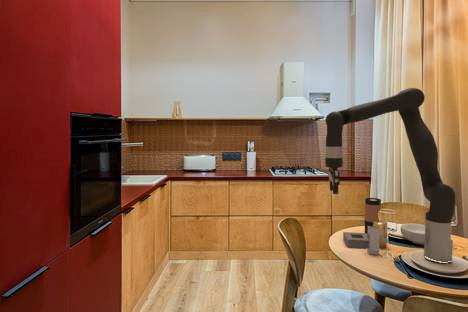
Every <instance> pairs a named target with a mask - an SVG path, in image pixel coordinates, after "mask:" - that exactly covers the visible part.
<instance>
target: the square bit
mask: <svg viewBox="0 0 468 312" xmlns="http://www.w3.org/2000/svg"><path fill="white" fill-rule="evenodd" d="M379 236H380V229H379V228H378V227H377V226H368V236H367V249H366V250H367V251H366V252H367V253H368V255H369V256H379V255H380V249H379Z"/></svg>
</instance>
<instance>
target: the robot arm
mask: <svg viewBox="0 0 468 312" xmlns="http://www.w3.org/2000/svg"><path fill="white" fill-rule="evenodd" d="M424 102H425V94H424V91H422V90H421V89H420V88H417V87H409V88H405V89H404V90H403V89H402V90H401V91H399V92H398V93H397V94H394V95H392V96H388V97H385V98H383V99H378V100H373V101H369V102H365V103H361V104H358V105H354V106H350V107H348V108H346V109H342V110H338V111H331V112H330V113H328V114H327V115H326V116H325V121H324V122H325V125H326V135H325V150H324V151H325V153H324V155H325V156H324V160H325V161H324V165H325V167H326V168H328V182H329V190H330V192H331V191H332V194H334V195H338V194H339V186H340V184H341V183H340V182H341V181H340V179H341V177H340V174H341V171H339V168H340V169H341V168H343V166H344V164H343V163H344V154H343V153H344V152H343V130H344V126H345V125H349V124H355V123H359V122H362V121H365V120H369V119H372V118H375V117H378V116H382V115H384V114H388V113H393V112H397V111H398V113H399V115H400V118H401V120H402V122H403V126H404V130H405V134H406V137H407V140H408V142H409V143H408V144H409V147H410V149H411V154H412V156H413V158H414V162H415V165H416V168H417V170H418V172H419V176H420V181H421V187H422V192H423V196H424V197H425V199H426V200H427V201H429V209H428V211H426V213H425V216H424V218H425V220H424V221H425V222H424V225H425V243H424V245H423V247H424V249H423V256H424V255H425V256H426V257H428V258H430V259H433V260H436V261H441V262H448V261H452V262H453V251H454V250H453V249H454V247H453V246H454V245H453V244H454V240H452V237H451V236H452V220H453V219H452V218H453V217H454V216H455V210H456V191H455V189H453V187H451V186H450V185H448V184H445V183H444V182H443V181H442V178H441V177H442V176H441V175H440V172H439V166H438V165H439V163H438V162H439V151H438V147H437V144H436V141H435V138H434V136H433V134H432V132H431V131H430V129H429V127H428V126H427V125H426V123H425V122H424V120H423V118H422V115H421V111H420V107H421V106H422V105H423V104H424Z"/></svg>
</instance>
